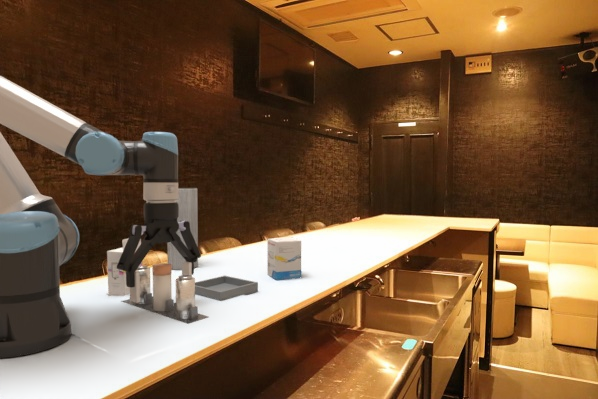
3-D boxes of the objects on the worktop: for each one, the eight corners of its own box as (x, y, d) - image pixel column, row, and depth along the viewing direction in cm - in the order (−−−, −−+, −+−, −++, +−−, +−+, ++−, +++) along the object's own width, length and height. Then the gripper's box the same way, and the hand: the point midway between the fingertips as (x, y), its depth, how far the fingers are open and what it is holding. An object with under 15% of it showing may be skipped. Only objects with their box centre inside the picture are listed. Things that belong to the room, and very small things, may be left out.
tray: (220, 302, 104) (220, 292, 104) (187, 293, 112) (187, 284, 112) (257, 291, 114) (257, 282, 114) (224, 284, 122) (224, 275, 122)
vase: (161, 269, 143) (160, 188, 142) (177, 263, 153) (176, 187, 151) (189, 270, 140) (188, 188, 139) (203, 264, 150) (202, 187, 149)
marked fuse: (159, 312, 95) (159, 267, 94) (149, 308, 97) (148, 265, 97) (175, 308, 98) (175, 264, 98) (164, 304, 101) (164, 262, 100)
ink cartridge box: (126, 288, 118) (126, 234, 117) (143, 289, 117) (142, 235, 116) (106, 296, 109) (105, 239, 109) (124, 297, 108) (123, 239, 108)
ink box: (302, 278, 130) (302, 239, 130) (275, 280, 127) (275, 241, 127) (292, 272, 138) (292, 236, 138) (266, 274, 135) (266, 237, 135)
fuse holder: (187, 325, 87) (187, 281, 87) (120, 302, 104) (120, 265, 103) (209, 318, 92) (209, 277, 91) (141, 297, 108) (141, 262, 108)
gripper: (117, 204, 85) (118, 310, 85) (215, 200, 104) (215, 286, 105) (98, 203, 89) (100, 304, 90) (195, 199, 109) (196, 282, 110)
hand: (162, 295), depth 98 cm, fingers open, 13 cm apart
